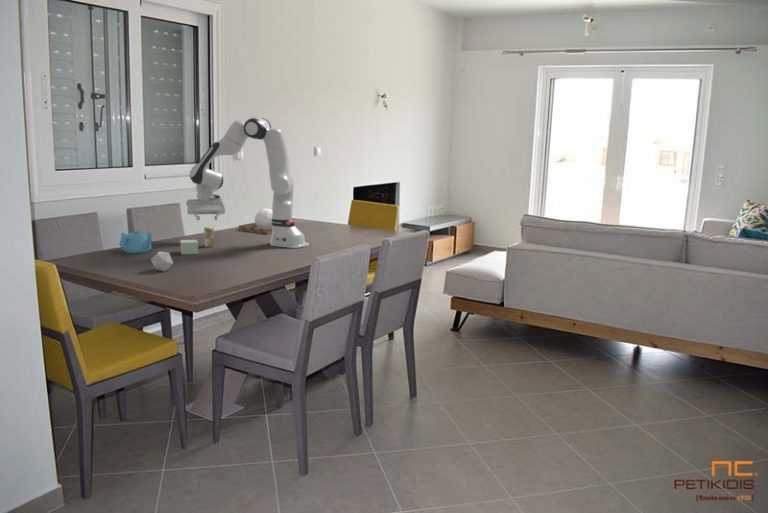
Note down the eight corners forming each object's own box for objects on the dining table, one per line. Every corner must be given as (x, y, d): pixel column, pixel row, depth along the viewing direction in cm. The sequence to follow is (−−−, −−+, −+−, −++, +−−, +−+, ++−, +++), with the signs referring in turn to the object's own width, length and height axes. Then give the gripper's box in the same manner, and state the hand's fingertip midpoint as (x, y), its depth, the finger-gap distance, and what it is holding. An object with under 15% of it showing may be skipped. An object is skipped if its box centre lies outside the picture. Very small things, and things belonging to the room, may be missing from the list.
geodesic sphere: (252, 218, 413) (254, 202, 403) (275, 217, 418) (277, 202, 407) (254, 235, 404) (256, 219, 394) (277, 234, 408) (279, 219, 398)
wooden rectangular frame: (293, 229, 411) (293, 225, 410) (268, 234, 391) (268, 229, 390) (263, 225, 423) (263, 221, 422) (238, 230, 402) (238, 225, 402)
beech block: (213, 245, 352) (212, 227, 350) (213, 246, 348) (213, 228, 346) (204, 245, 350) (204, 227, 348) (205, 247, 346) (204, 228, 344)
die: (177, 271, 293) (172, 251, 296) (169, 265, 284) (164, 245, 287) (159, 277, 292) (154, 257, 296) (151, 271, 284) (146, 251, 287)
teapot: (121, 248, 334) (120, 228, 332) (152, 248, 338) (152, 227, 336) (119, 254, 320) (118, 233, 317) (151, 253, 324) (151, 232, 322)
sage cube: (196, 251, 335) (196, 239, 334) (198, 254, 328) (198, 242, 327) (180, 251, 332) (180, 240, 331) (181, 254, 325) (181, 243, 324)
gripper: (186, 196, 356) (187, 216, 349) (224, 196, 363) (226, 215, 356) (185, 203, 361) (187, 223, 354) (223, 202, 368) (225, 222, 361)
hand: (207, 219), depth 355 cm, fingers open, 8 cm apart
